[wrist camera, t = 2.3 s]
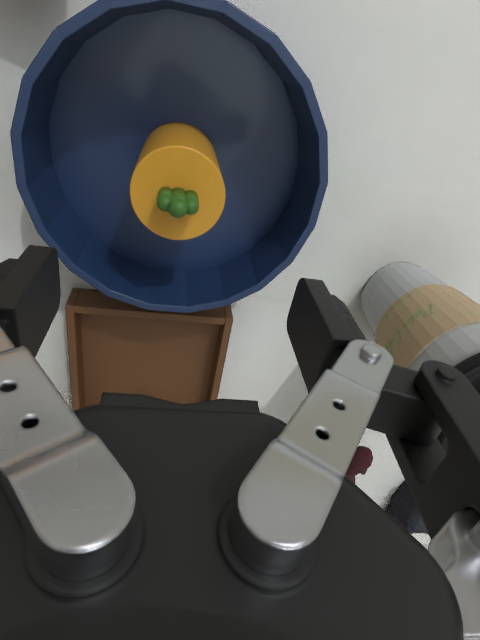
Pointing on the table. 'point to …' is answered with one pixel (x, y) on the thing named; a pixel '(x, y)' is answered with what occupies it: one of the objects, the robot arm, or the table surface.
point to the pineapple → (177, 183)
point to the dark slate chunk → (406, 511)
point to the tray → (143, 350)
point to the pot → (141, 120)
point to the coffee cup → (423, 321)
